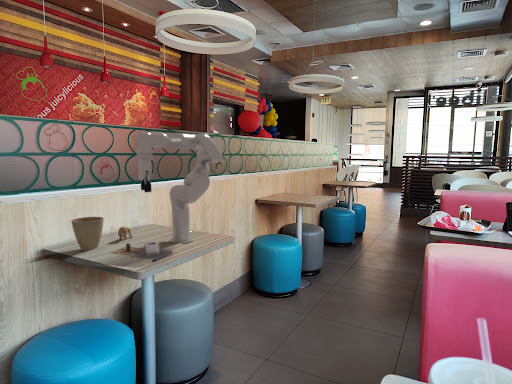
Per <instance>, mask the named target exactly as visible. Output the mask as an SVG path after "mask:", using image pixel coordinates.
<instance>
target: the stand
mask: <svg viewBox="0 0 512 384" xmlns="http://www.w3.org/2000/svg"><path fill="white" fill-rule="evenodd" d="M141 251H144V247H135V246H131V243H130V242H129V243H126V244H125V246H124V247H122V248H120V249H117V250H114V251H112V252H111V254H114V255H115V254H116V255H125V256H133V255H135V254H137V253H139V252H141Z"/></svg>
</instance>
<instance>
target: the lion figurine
mask: <svg viewBox="0 0 512 384" xmlns="http://www.w3.org/2000/svg"><path fill="white" fill-rule="evenodd" d="M117 234H118V236H119V240H120V241H122V240H123V239H124V241H126V240H127V237H129V239H133V234H132V231H131V228H130V227H129V226H128V227H125V226H120V227H119V228H118V232H117ZM127 235H128V236H127ZM122 238H123V239H122Z"/></svg>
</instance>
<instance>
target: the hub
mask: <svg viewBox="0 0 512 384" xmlns="http://www.w3.org/2000/svg"><path fill="white" fill-rule="evenodd" d="M172 253H173V250H169V249H168V250H165V249H159V255H152V256H146V255H145V253H144V250H142V251H140V252H137V253H135V254H133V255H130V257H131V258H137V259H138V258H139V259H150V260H151V262H158V261H159V260H161V259H163V258H165V257H167V256H169V255H171V254H172Z"/></svg>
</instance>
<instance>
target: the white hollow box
mask: <svg viewBox="0 0 512 384" xmlns="http://www.w3.org/2000/svg"><path fill="white" fill-rule="evenodd" d="M143 248H144V250H143V251H144V253H145V255H146V256H152V255H159V250H160V244H159V243H158V242H157V241H149V242H144V243H143Z"/></svg>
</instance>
